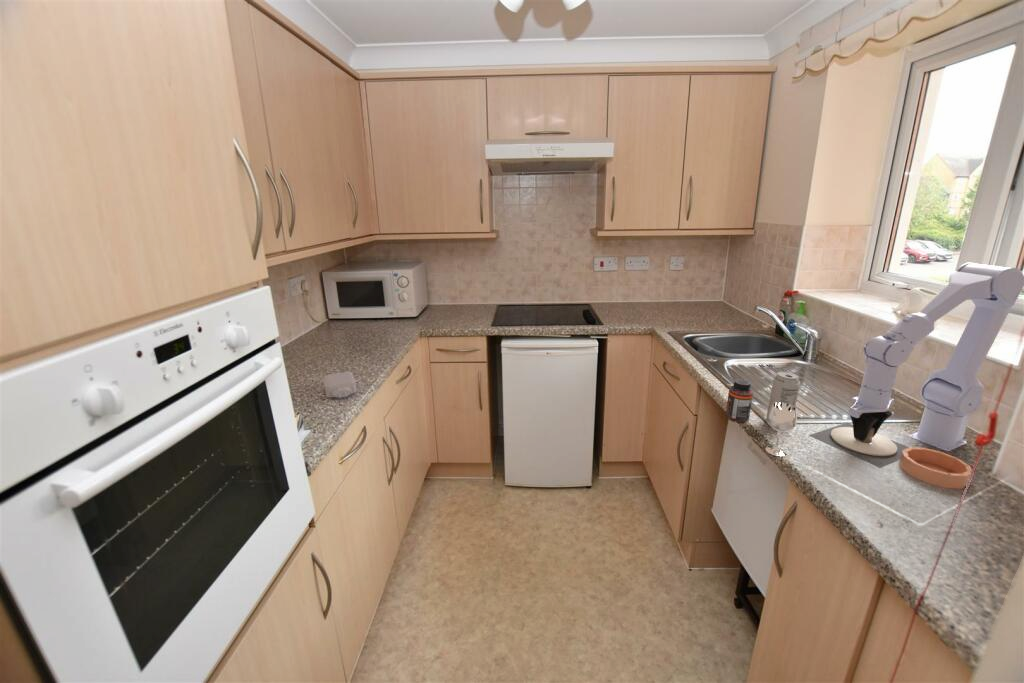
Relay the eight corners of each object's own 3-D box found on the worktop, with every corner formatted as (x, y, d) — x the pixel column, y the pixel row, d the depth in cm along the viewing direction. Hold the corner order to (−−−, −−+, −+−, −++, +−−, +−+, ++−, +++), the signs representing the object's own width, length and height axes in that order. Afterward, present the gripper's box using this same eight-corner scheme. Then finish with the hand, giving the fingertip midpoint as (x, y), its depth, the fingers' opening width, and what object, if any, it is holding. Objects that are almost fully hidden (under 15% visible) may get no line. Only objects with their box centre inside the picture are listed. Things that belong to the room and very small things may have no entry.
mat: (846, 424, 119) (846, 422, 119) (918, 452, 105) (919, 451, 105) (808, 436, 113) (809, 435, 112) (879, 469, 99) (880, 467, 99)
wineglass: (780, 444, 109) (788, 401, 105) (795, 457, 104) (804, 411, 100) (757, 445, 109) (765, 401, 105) (771, 458, 103) (780, 412, 100)
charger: (328, 406, 134) (324, 388, 147) (359, 400, 138) (353, 383, 150) (326, 391, 132) (322, 375, 145) (358, 386, 136) (351, 370, 149)
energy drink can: (782, 421, 121) (792, 370, 116) (795, 432, 115) (806, 379, 110) (760, 421, 121) (769, 370, 116) (772, 432, 115) (782, 379, 111)
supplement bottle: (723, 412, 126) (729, 376, 123) (746, 415, 124) (752, 378, 121) (726, 422, 121) (732, 384, 117) (750, 425, 119) (757, 386, 116)
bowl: (915, 456, 104) (919, 443, 103) (977, 481, 94) (982, 467, 93) (888, 467, 99) (892, 454, 98) (951, 495, 90) (956, 481, 89)
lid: (849, 425, 117) (853, 411, 116) (908, 448, 105) (912, 433, 104) (819, 435, 112) (822, 421, 110) (877, 461, 100) (881, 445, 99)
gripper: (875, 375, 110) (863, 424, 114) (840, 385, 105) (828, 436, 109) (909, 385, 104) (894, 436, 108) (873, 397, 99) (859, 449, 103)
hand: (863, 437), depth 108 cm, fingers closed on lid, 3 cm apart
